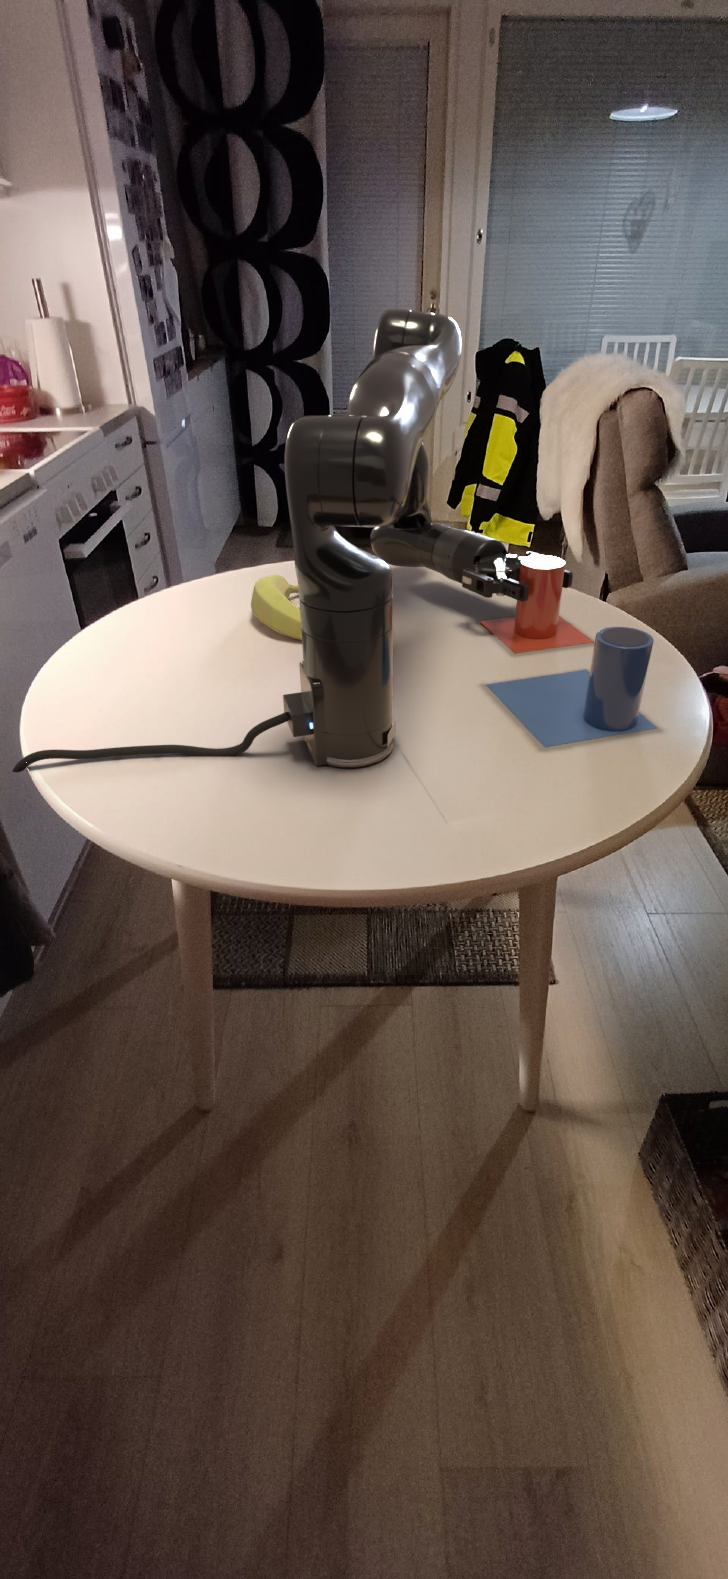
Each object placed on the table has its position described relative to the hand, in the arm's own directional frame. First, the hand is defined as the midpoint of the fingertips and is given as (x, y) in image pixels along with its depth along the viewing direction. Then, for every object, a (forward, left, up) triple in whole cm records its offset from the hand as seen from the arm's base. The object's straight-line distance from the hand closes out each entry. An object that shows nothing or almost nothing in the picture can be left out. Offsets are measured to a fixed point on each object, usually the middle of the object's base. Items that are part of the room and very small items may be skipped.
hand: (549, 587), depth 106 cm
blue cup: (-4, -25, -7) cm, 26 cm away
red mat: (-1, +1, -7) cm, 7 cm away
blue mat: (-7, -20, -7) cm, 22 cm away
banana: (-32, +19, -7) cm, 38 cm away
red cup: (-1, +1, -7) cm, 7 cm away
